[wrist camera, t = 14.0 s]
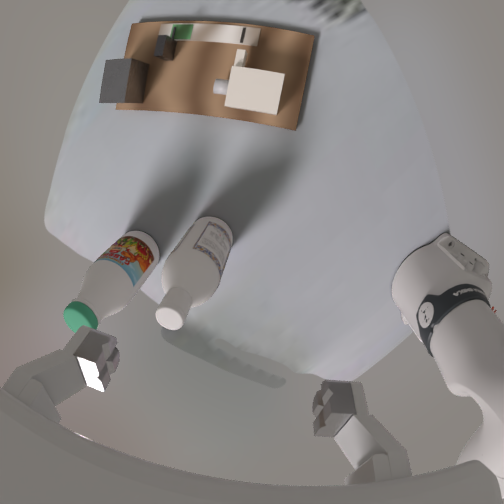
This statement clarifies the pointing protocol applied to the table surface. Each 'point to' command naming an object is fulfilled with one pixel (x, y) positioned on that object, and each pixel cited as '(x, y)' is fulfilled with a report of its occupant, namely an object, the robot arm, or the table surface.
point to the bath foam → (193, 270)
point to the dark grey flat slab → (165, 47)
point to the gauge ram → (250, 87)
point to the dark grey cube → (124, 81)
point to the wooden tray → (218, 67)
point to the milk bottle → (113, 280)
